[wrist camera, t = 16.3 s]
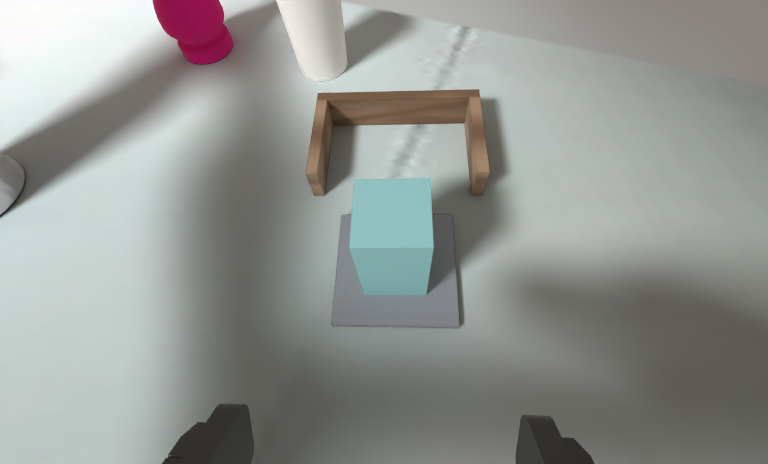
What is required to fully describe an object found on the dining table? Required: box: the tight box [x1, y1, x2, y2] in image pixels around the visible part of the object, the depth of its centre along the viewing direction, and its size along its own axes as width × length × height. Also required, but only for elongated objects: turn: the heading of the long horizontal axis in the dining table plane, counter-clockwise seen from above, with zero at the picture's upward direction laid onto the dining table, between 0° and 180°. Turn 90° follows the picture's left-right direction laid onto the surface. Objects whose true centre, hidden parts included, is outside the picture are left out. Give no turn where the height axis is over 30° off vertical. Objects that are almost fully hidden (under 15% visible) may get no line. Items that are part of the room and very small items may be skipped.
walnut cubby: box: [305, 89, 490, 196], centre depth 36 cm, size 10×16×4 cm, turn 88°
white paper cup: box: [276, 0, 348, 81], centre depth 40 cm, size 7×7×10 cm
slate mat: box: [331, 214, 460, 328], centre depth 31 cm, size 10×10×1 cm
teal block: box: [349, 178, 434, 295], centre depth 27 cm, size 5×5×9 cm
